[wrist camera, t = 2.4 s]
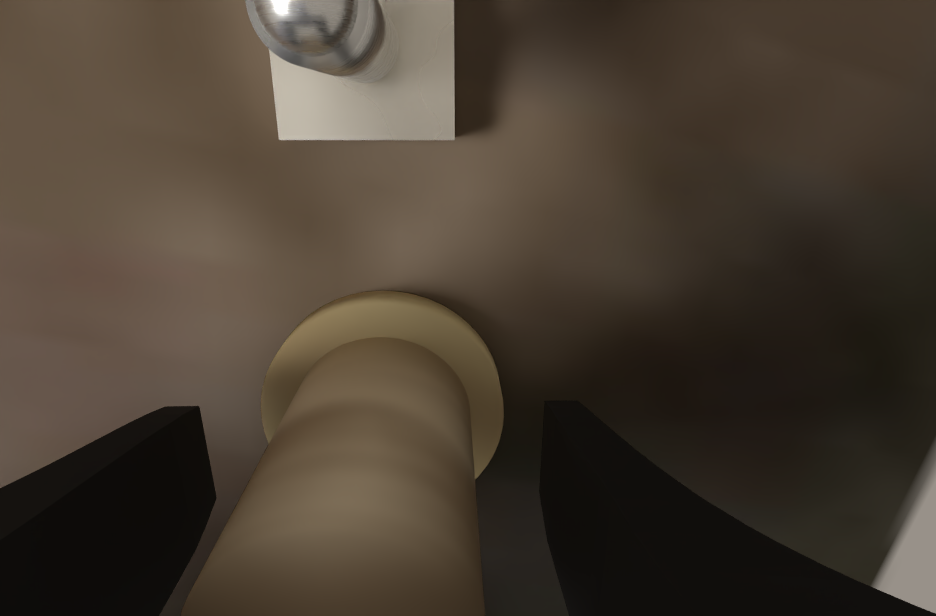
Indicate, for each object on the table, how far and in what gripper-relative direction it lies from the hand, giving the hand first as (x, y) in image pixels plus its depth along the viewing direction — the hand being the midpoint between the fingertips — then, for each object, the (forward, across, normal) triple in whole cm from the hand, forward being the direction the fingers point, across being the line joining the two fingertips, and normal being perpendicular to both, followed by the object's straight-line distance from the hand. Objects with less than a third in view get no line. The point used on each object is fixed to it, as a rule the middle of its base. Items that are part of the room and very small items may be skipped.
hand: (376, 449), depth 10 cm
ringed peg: (+2, 0, 0) cm, 2 cm away
